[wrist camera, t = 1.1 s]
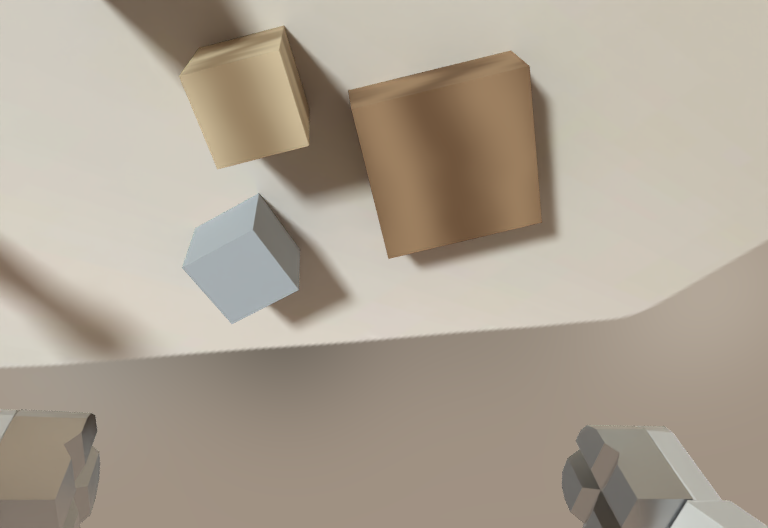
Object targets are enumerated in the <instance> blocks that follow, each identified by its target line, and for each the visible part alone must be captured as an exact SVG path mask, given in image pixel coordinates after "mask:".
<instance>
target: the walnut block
mask: <svg viewBox="0 0 768 528" xmlns="http://www.w3.org/2000/svg"><path fill="white" fill-rule="evenodd" d="M348 93H349V99H350V104H351V110H352V114H353V118H354V122H355V126H356V130H357V134H358V138H359V142H360V146H361V150H362V154H363V158H364V162H365V166H366V170H367V174H368V178H369V182H370V186H371V190H372V194H373V198H374V202H375V206H376V210H377V214H378V218H379V222H380V226H381V230H382V234H383V238H384V242H385V246H386V250H387V255H388V259H390V258H394V257H398V256H403V255H407V254H411V253H415V252H419V251H424V250H428V249H432V248H436V247H441V246H445V245H449V244H453V243H458V242H462V241H466V240H470V239H474V238H479V237H483V236H487V235H491V234H496V233H500V232H504V231H508V230H513V229H517V228H521V227H525V226H529V225H534V224H538V223H542V218H541V205H540V193H539V180H538V168H537V155H536V142H535V130H534V117H533V105H532V92H531V80H530V67H529V65H528V64H526V63H525V62H524V61H523V60H522V59H520V58H519V57H518V56H517V55H516V54H514V53H513V52H512V51H507V52H503V53H499V54H495V55H491V56H487V57H483V58H479V59H475V60H471V61H467V62H462V63H458V64H454V65H450V66H446V67H442V68H438V69H434V70H430V71H426V72H422V73H418V74H414V75H409V76H405V77H401V78H397V79H393V80H389V81H385V82H381V83H377V84H373V85H369V86H365V87H361V88H356V89H352V90H348Z"/></svg>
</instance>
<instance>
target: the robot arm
mask: <svg viewBox="0 0 768 528" xmlns="http://www.w3.org/2000/svg"><path fill="white" fill-rule="evenodd" d="M96 433H97V425H96V417H95V415H94V414H92V413H83V412H62V411H42V410H7V409H0V528H80V523H81V522H83V521H84V520H85V519H86V518H87V517H88V516H90V514H91V511H92V508H93V505H94V502H95V498H96V493H97V487H98V482H99V474H100V457H99V451H98V450H97V449H95V448H94V447H93V446H92V444H93V442H94V439H95V436H96ZM576 442H577V445H578V446H579V450H578V451H577V452H575V453H574V454H573V455H571V456H570V457H569V458H568V459H567V461H566V464H565V466H564V469H563V472H562V489H563V493H564V497H565V501H566V503H567V505H568V508H569V510H570V512H571V513H572V514H573V515H575V516H576V517H577V518H578V519H579V520H581V521H582V522H583V523H584V524H583V528H768V526H766V525H765V524H764V523H762V522H761V521H759V520H758V519H756V518H755V517H753V516H752V515H750V514H749V513H747V512H746V511H744V510H743V509H742V508H740V507H739V506H737V505H736V504H734V503H733V502H731V501H726V500H721V499H720V497H719V496H718V494H717V493H716V491H715V490H714V489H713V487H712V486H711V485H710V483H709V482H708V480H707V479H706V478H705V476H704V475H703V473H702V472H701V471H700V469H699V468H698V467H697V465H696V464H695V462H694V461H693V460H692V458H691V457H690V456H689V454H688V453H687V451H686V450H685V449H684V447H683V446H682V445H681V443H680V442H679V441H678V439H677V438H676V436H675V435H674V434H673V432H672V431H670V430H669V429H667V428H666V427H664V426H637V427H636V426H604V425H602V426H601V425H587V426H586V427H584V428H583V429H582V430H581V431H580V433H579V435H578V437H577V439H576Z"/></svg>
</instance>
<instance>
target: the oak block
mask: <svg viewBox="0 0 768 528" xmlns="http://www.w3.org/2000/svg"><path fill="white" fill-rule="evenodd" d="M179 77H180V80H181V82H182V84H183V87H184V89H185V92H186V94H187V97H188V99H189V101H190V104H191V106H192V109H193V111H194V114H195V116H196V118H197V121H198V123H199V126H200V128H201V130H202V133H203V135H204V138H205V140H206V143H207V145H208V147H209V150H210V152H211V155H212V157H213V160H214V162H215V164H216V167H217V169H221V168H224V167H228V166H232V165H236V164H240V163H244V162H248V161H252V160H256V159H260V158H263V157H267V156H271V155H275V154H279V153H283V152H287V151H291V150H295V149H299V148H302V147H306V146H309V115H310V110H309V107H308V103H307V100H306V97H305V93H304V90H303V87H302V84H301V80H300V77H299V74H298V70H297V67H296V64H295V60H294V57H293V54H292V51H291V47H290V44H289V41H288V37H287V34H286V31H285V27H284V26H281V27H277V28H273V29H270V30H266V31H262V32H258V33H254V34H251V35H247V36H243V37H239V38H236V39H232V40H228V41H224V42H220V43H217V44H213V45H209V46H205V47H202V48H199V49H198V50H197V51H196V53H195V54H194V56H193V57H192V59H191V60H190V61H189V63H188V64H187V66H186V67H185V69H184V70H183V71H182V73H181V74H180V76H179Z"/></svg>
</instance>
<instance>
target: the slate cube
mask: <svg viewBox="0 0 768 528" xmlns="http://www.w3.org/2000/svg"><path fill="white" fill-rule="evenodd" d="M182 268H183V269H184V270H185V272H186V273H187V274H188V275H189V276H190V277H191V278H192V280H193V281H194V282H195V283H196V284H197V285H198V286H199V287H200V289H201V290H202V291H203V292H204V293H205V294H206V295H207V296H208V298H209V299H210V300H211V301H212V302H213V303H214V304H215V306H216V307H217V308H218V309H219V310H220V311H221V312H222V313H223V315H224V316H225V317H226V318H227V319H228V320H229V321H230V323H231V324H233V323H235V322H237V321H239V320H241V319H243V318H245V317H247V316H249V315H251V314H253V313H255V312H257V311H259V310H261V309H263V308H265V307H267V306H268V305H270V304H272V303H274V302H276V301H278V300H280V299H282V298H284V297H286V296H288V295H290V294H292V293H294V292H296V291H298V290H299V271H300V249H299V248H298V246H297V245H296V243H295V242H294V241H293V239H292V238H291V237H290V235H289V234H288V232H287V231H286V230H285V228H284V227H283V226H282V224H281V223H280V221H279V220H278V219H277V217H276V216H275V215H274V213H273V212H272V210H271V209H270V208H269V206H268V205H267V204H266V202H265V201H264V200H263V198H262V197H261V195H260V194H259V193H258V194H257V195H255V196H253V197H251V198H249V199H248V200H246V201H244V202H242V203H240V204H238V205H237V206H235V207H233V208H231V209H229V210H228V211H226V212H224V213H222V214H220V215H218V216H217V217H215V218H213V219H211V220H209V221H207V222H206V223H204V224H202V225H200V226H198V227H197V228H195V231H194V234H193V237H192V240H191V243H190V246H189V249H188V252H187V255H186V258H185V261H184V264H183V267H182Z"/></svg>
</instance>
